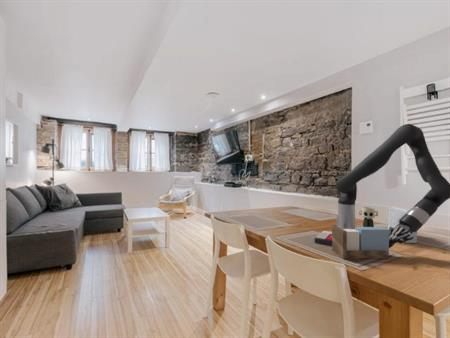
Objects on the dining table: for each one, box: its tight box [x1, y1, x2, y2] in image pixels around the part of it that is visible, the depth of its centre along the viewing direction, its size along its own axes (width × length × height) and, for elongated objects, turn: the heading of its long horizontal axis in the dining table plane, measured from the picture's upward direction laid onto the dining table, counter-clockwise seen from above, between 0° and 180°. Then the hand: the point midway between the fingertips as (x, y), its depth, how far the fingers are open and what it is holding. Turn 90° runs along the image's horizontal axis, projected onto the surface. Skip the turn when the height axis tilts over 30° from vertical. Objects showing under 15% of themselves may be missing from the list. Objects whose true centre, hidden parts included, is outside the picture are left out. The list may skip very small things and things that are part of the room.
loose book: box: [355, 226, 390, 257], centre depth 107 cm, size 12×4×12 cm, turn 89°
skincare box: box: [387, 206, 418, 244], centre depth 134 cm, size 21×6×16 cm, turn 168°
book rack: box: [331, 224, 389, 260], centre depth 107 cm, size 20×11×12 cm, turn 88°
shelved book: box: [344, 228, 359, 251], centre depth 108 cm, size 7×4×11 cm, turn 88°
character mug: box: [358, 206, 379, 227], centre depth 157 cm, size 11×7×13 cm, turn 61°
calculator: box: [314, 230, 332, 247], centre depth 127 cm, size 11×4×15 cm
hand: (386, 246), depth 107 cm, fingers closed
